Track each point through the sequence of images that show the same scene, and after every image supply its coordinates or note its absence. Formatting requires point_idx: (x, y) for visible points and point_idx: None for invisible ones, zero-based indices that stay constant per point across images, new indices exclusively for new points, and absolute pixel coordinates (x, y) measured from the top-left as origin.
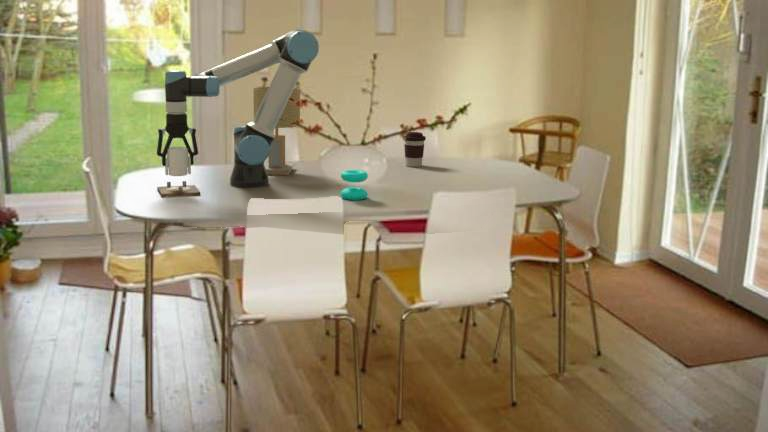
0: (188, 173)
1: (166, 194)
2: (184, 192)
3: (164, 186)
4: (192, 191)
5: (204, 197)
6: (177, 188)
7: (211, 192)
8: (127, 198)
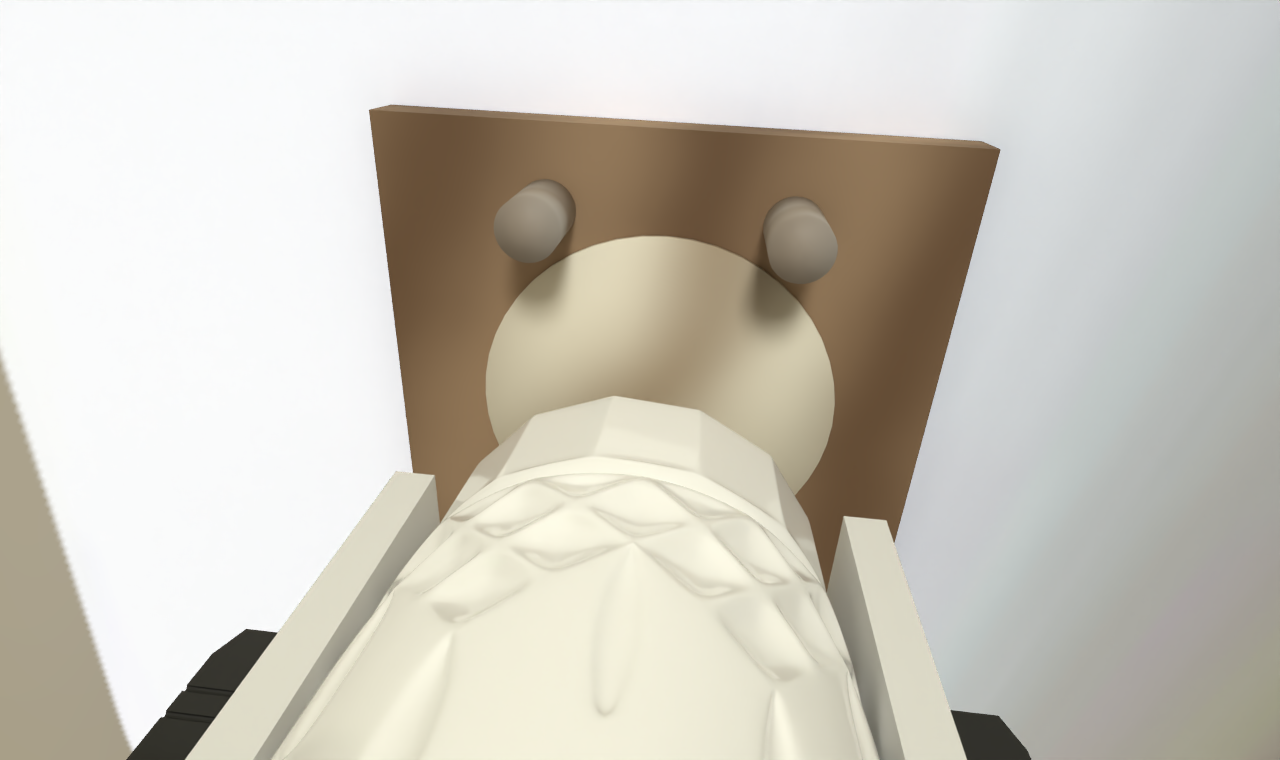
0: (829, 586)
1: None
2: None
3: (483, 120)
4: None
5: None
6: (647, 376)
7: (1066, 496)
8: (91, 486)
